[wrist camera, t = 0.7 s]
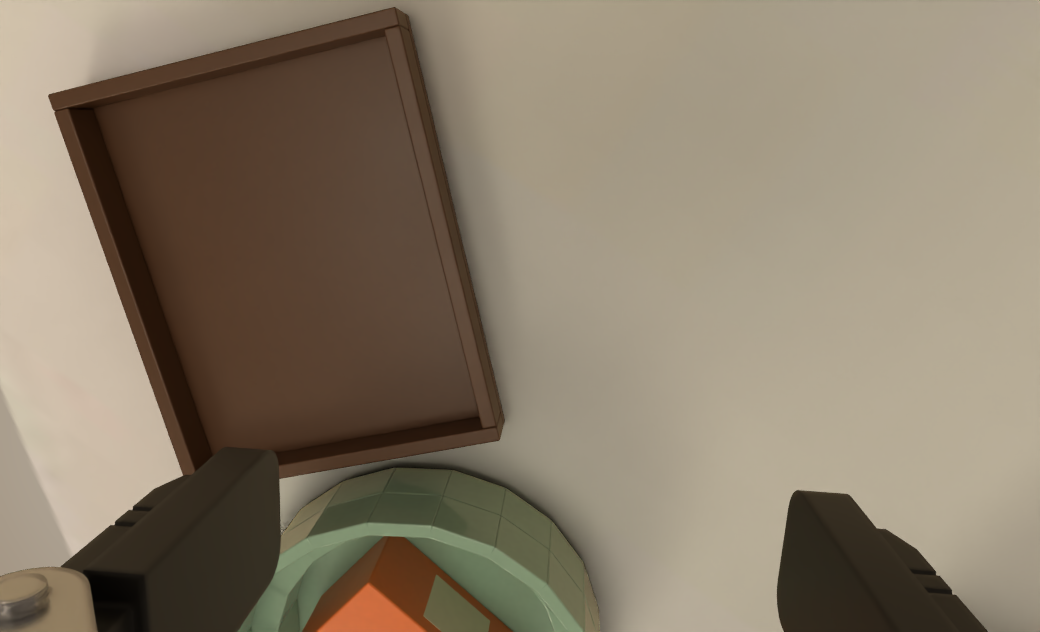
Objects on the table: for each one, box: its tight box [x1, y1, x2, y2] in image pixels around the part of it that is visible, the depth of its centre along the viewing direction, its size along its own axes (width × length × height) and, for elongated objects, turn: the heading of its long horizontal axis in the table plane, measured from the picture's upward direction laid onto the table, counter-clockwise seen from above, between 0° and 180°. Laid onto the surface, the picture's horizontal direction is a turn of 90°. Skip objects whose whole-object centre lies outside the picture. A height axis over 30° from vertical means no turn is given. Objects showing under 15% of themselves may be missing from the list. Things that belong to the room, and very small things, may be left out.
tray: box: [48, 7, 505, 479], centre depth 29 cm, size 16×13×2 cm
